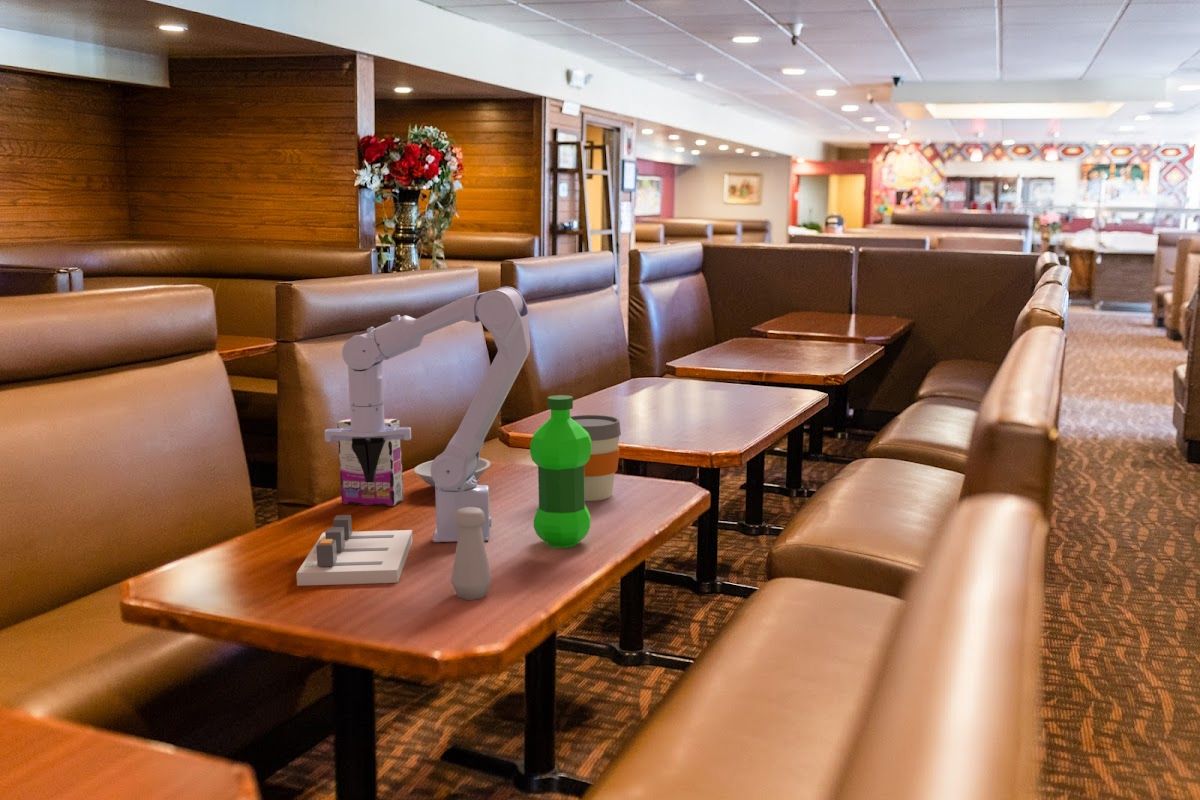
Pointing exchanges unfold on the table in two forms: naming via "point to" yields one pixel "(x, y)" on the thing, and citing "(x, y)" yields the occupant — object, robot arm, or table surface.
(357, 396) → the robot arm
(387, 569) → the breaker panel
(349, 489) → the candy bar box
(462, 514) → the salt shaker
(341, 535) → the middle breaker
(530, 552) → the table surface
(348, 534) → the far breaker
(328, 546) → the block
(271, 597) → the table surface
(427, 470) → the dish
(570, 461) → the plastic bottle
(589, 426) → the reusable coffee cup
